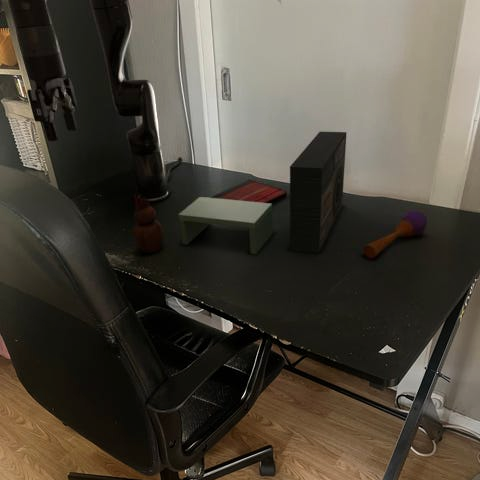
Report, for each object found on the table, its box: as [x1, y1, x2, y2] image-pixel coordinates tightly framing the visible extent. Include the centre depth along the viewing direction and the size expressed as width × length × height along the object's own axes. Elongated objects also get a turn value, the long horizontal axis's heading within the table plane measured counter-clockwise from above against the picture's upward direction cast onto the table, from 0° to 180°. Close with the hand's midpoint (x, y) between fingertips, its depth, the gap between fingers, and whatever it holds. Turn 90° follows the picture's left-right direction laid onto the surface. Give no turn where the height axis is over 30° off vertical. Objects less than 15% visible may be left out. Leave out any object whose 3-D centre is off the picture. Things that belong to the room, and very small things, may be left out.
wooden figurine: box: [133, 193, 164, 254], centre depth 116 cm, size 7×6×15 cm
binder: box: [208, 179, 287, 205], centre depth 143 cm, size 16×2×21 cm
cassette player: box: [289, 131, 347, 254], centre depth 120 cm, size 29×7×20 cm, turn 160°
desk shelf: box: [177, 196, 274, 255], centre depth 121 cm, size 12×20×8 cm, turn 67°
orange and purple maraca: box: [362, 209, 428, 260], centre depth 113 cm, size 6×6×20 cm
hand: (63, 135), depth 107 cm, fingers open, 8 cm apart
